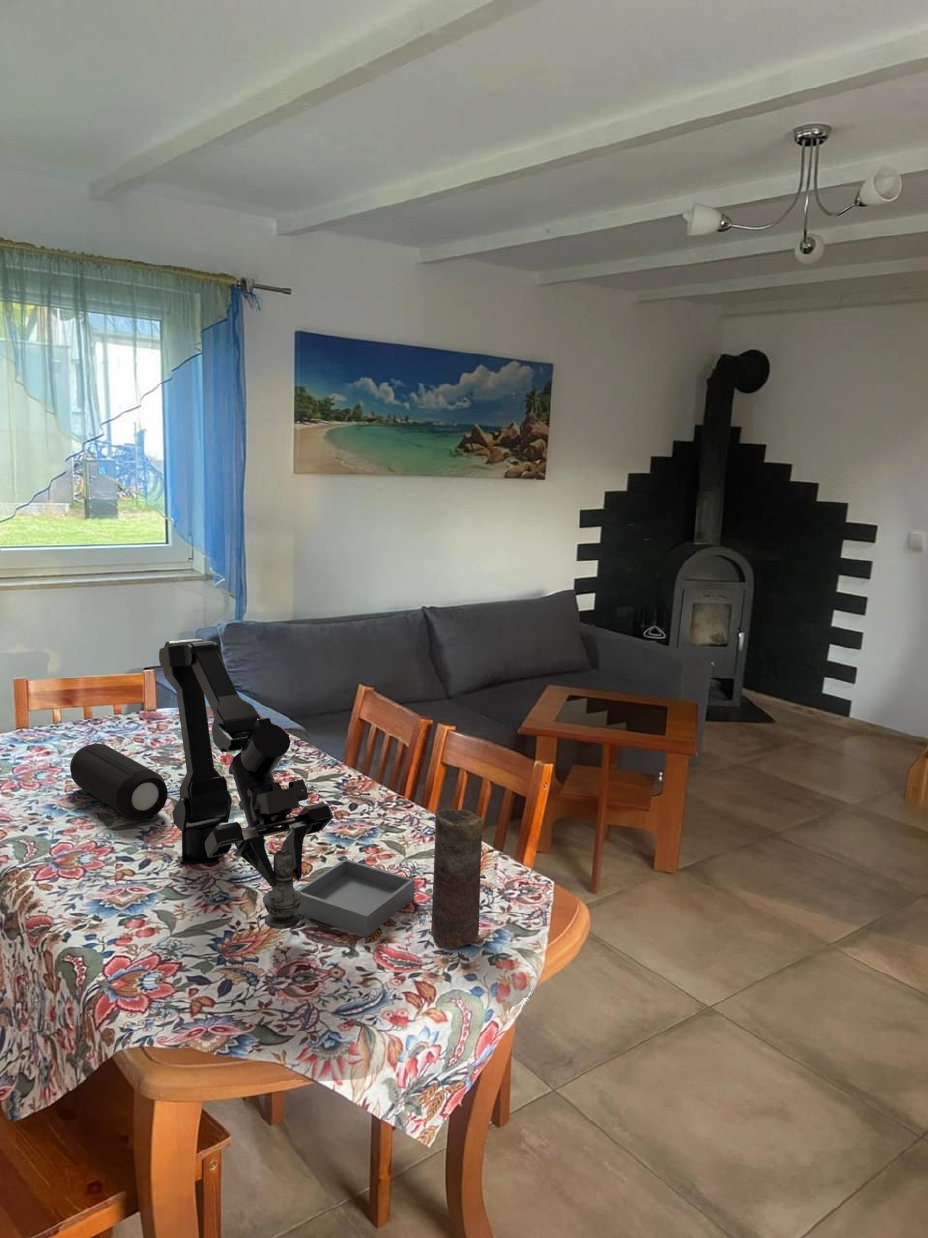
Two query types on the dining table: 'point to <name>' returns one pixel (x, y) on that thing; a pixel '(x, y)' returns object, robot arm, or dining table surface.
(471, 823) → the candle
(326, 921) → the tray
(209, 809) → the robot arm
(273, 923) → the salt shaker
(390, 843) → the dining table surface
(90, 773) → the portable speaker
